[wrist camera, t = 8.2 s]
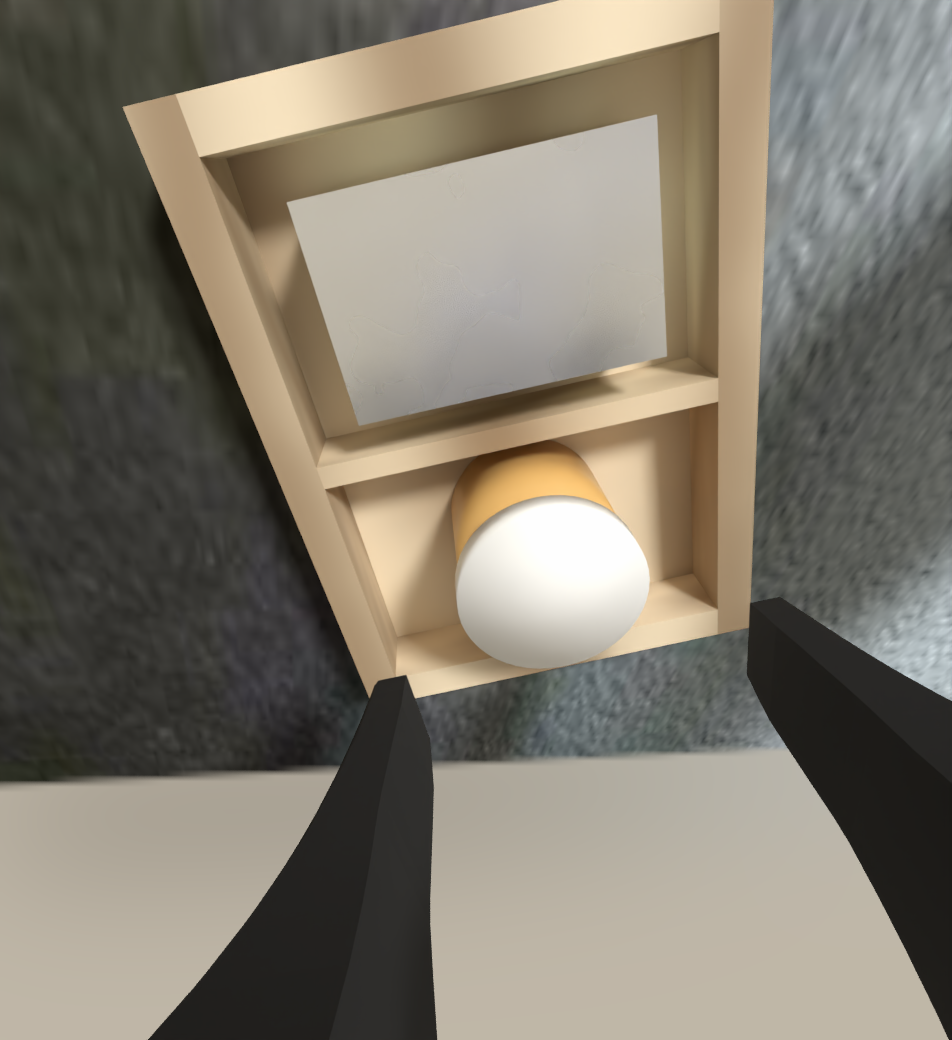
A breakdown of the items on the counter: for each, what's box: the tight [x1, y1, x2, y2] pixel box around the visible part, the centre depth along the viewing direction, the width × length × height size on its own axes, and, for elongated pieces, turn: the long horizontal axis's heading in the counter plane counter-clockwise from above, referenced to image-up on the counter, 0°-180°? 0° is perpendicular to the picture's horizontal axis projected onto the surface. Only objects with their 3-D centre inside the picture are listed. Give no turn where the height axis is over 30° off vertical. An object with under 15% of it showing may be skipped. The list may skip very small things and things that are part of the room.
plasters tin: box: [287, 115, 667, 426], centre depth 14 cm, size 7×5×3 cm, turn 102°
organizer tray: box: [123, 0, 774, 698], centre depth 16 cm, size 12×16×2 cm
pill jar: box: [451, 440, 650, 669], centre depth 16 cm, size 5×5×4 cm
